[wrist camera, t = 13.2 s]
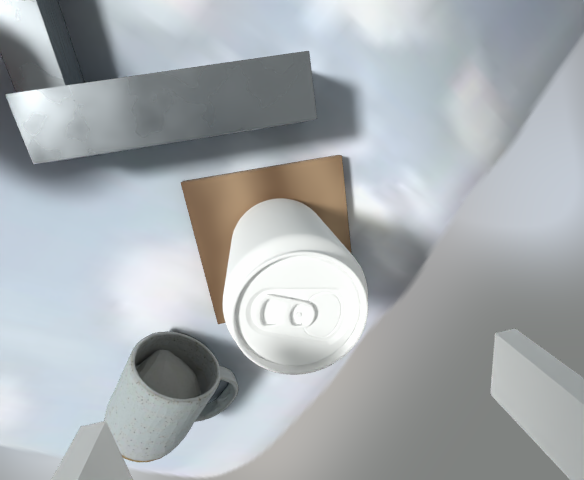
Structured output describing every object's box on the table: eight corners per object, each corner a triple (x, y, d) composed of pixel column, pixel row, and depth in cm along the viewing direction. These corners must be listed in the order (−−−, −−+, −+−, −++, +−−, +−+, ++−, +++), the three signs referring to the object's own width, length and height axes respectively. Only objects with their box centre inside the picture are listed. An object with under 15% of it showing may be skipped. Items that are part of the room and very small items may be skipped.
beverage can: (315, 290, 30) (357, 385, 18) (226, 281, 28) (212, 378, 17) (334, 204, 27) (394, 253, 16) (238, 189, 26) (230, 231, 15)
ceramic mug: (116, 387, 31) (78, 464, 24) (147, 319, 30) (116, 380, 22) (218, 416, 34) (212, 492, 27) (252, 356, 32) (255, 420, 25)
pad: (218, 318, 30) (217, 324, 29) (183, 181, 26) (180, 182, 25) (352, 291, 31) (355, 296, 30) (338, 154, 27) (341, 155, 26)
